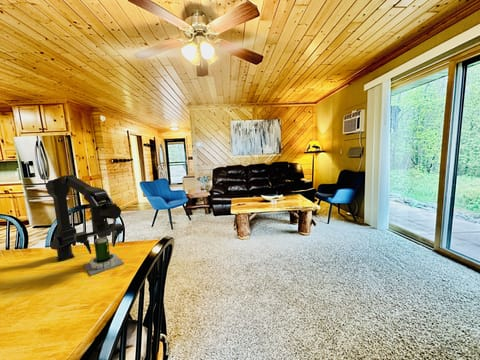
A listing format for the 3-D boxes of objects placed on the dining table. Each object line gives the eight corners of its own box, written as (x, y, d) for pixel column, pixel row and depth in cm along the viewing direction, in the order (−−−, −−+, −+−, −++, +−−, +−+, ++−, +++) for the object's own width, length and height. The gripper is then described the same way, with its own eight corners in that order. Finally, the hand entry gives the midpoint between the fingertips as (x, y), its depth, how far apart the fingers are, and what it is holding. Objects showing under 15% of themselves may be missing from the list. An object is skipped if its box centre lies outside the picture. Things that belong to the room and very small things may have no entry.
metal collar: (87, 264, 97) (87, 259, 96) (112, 256, 104) (112, 251, 104) (93, 272, 90) (92, 266, 89) (119, 262, 97) (119, 257, 97)
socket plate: (83, 265, 97) (83, 264, 97) (115, 255, 106) (114, 254, 106) (90, 276, 88) (90, 274, 88) (124, 264, 97) (123, 262, 97)
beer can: (96, 267, 93) (94, 242, 92) (96, 263, 98) (94, 238, 96) (110, 264, 96) (108, 239, 95) (110, 259, 101) (107, 235, 99)
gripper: (76, 226, 82) (81, 263, 84) (127, 215, 96) (130, 248, 98) (71, 220, 90) (75, 255, 92) (119, 211, 103) (122, 242, 105)
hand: (102, 250), depth 96 cm, fingers open, 9 cm apart
